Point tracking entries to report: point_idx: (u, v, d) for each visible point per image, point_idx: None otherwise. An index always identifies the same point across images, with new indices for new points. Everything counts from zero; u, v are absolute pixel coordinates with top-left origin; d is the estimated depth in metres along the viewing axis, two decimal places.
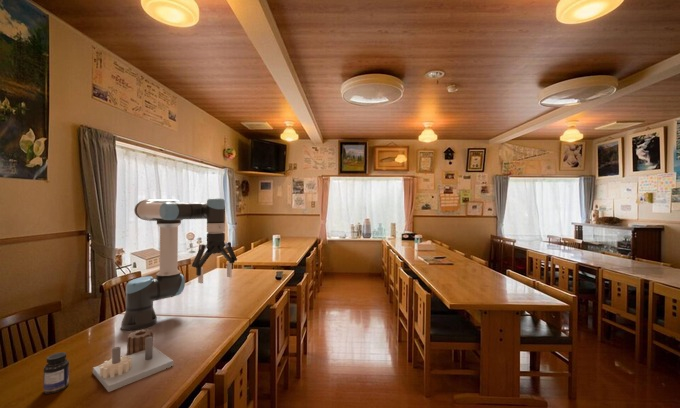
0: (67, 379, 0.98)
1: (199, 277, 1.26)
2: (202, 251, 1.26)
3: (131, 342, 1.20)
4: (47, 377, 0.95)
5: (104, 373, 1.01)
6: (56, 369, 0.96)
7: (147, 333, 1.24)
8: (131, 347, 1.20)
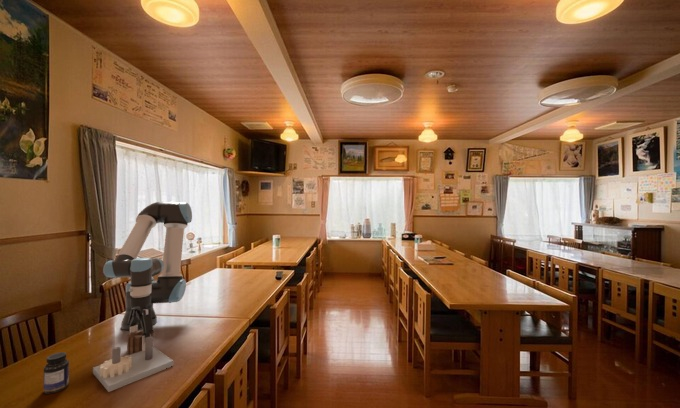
0: (67, 379, 0.98)
1: None
2: (131, 310, 1.27)
3: (131, 342, 1.20)
4: (47, 377, 0.95)
5: (104, 373, 1.01)
6: (56, 369, 0.96)
7: None
8: (131, 347, 1.20)
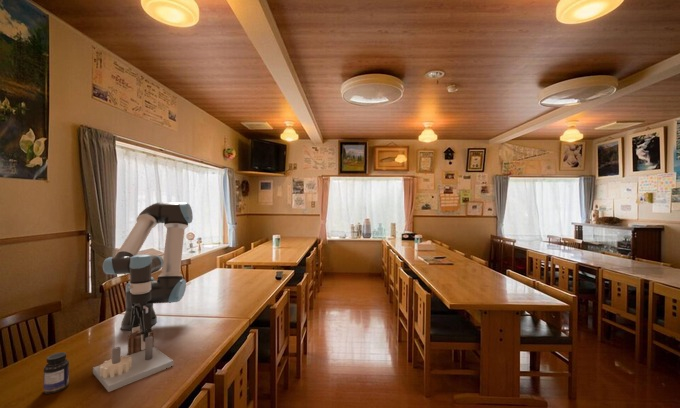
0: (67, 379, 0.98)
1: None
2: (131, 309, 1.27)
3: (132, 342, 1.19)
4: (47, 377, 0.95)
5: (104, 373, 1.01)
6: (56, 369, 0.96)
7: None
8: (132, 348, 1.19)
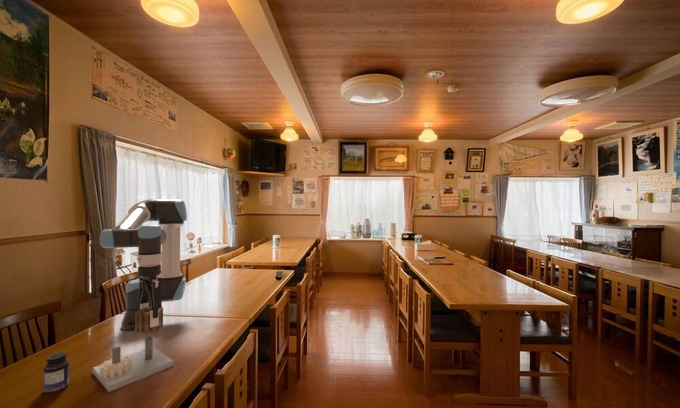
0: (67, 379, 0.98)
1: None
2: (139, 284, 1.16)
3: (140, 319, 1.09)
4: (47, 377, 0.95)
5: (104, 373, 1.01)
6: (56, 369, 0.96)
7: None
8: (140, 324, 1.09)
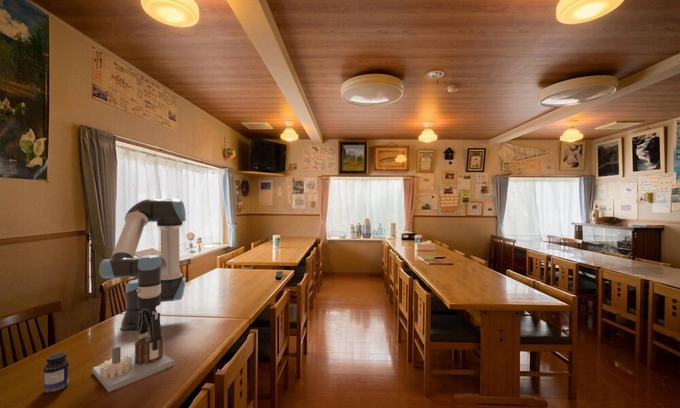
0: (67, 379, 0.98)
1: None
2: (139, 314, 1.16)
3: (139, 350, 1.09)
4: (47, 377, 0.95)
5: (104, 373, 1.01)
6: (56, 369, 0.96)
7: None
8: (139, 356, 1.09)
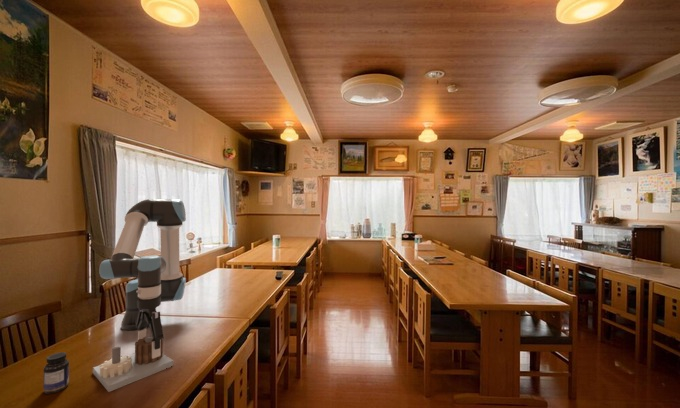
0: (67, 379, 0.98)
1: None
2: (139, 313, 1.17)
3: (139, 350, 1.09)
4: (47, 377, 0.95)
5: (104, 373, 1.01)
6: (56, 369, 0.96)
7: None
8: (139, 356, 1.09)
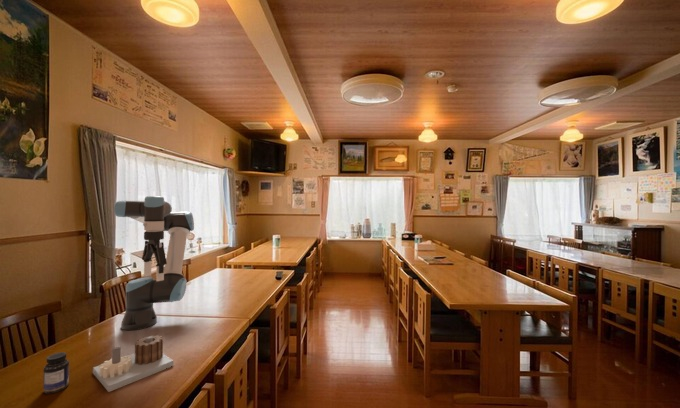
0: (67, 379, 0.98)
1: None
2: (145, 246, 1.34)
3: (139, 350, 1.09)
4: (47, 377, 0.95)
5: (104, 373, 1.01)
6: (56, 369, 0.96)
7: (157, 340, 1.13)
8: (139, 356, 1.09)
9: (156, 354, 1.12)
